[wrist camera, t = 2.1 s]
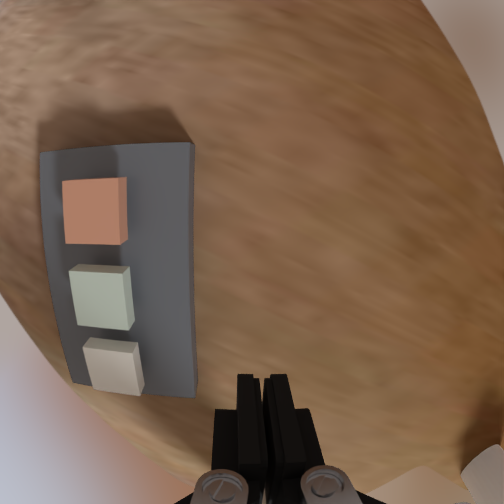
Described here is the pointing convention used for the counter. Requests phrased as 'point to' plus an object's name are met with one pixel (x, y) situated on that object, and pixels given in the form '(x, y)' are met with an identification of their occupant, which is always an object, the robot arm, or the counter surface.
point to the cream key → (114, 366)
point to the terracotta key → (95, 210)
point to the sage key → (102, 296)
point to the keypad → (132, 257)
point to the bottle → (486, 476)
